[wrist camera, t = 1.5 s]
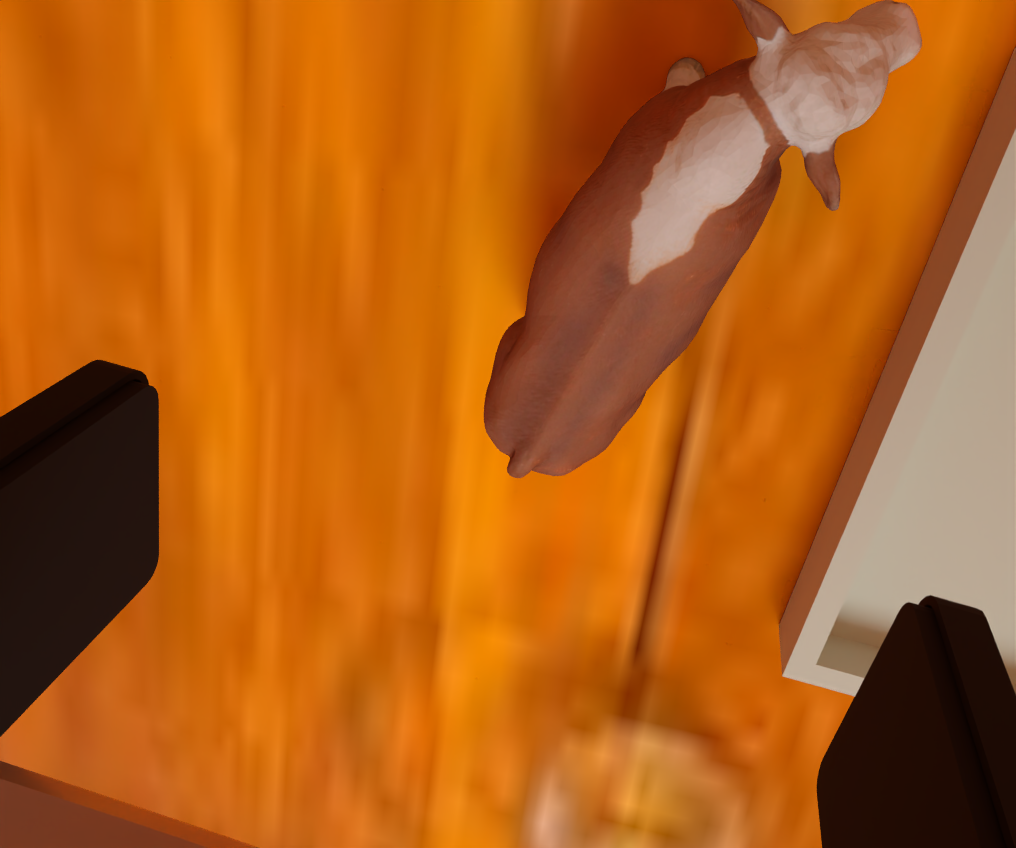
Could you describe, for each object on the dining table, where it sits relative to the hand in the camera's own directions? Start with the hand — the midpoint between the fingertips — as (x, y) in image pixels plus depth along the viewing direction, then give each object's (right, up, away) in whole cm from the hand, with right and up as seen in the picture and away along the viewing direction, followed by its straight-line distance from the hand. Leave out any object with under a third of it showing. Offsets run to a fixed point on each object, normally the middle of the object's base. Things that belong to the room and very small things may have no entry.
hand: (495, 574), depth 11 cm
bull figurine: (+5, +8, +14) cm, 17 cm away
